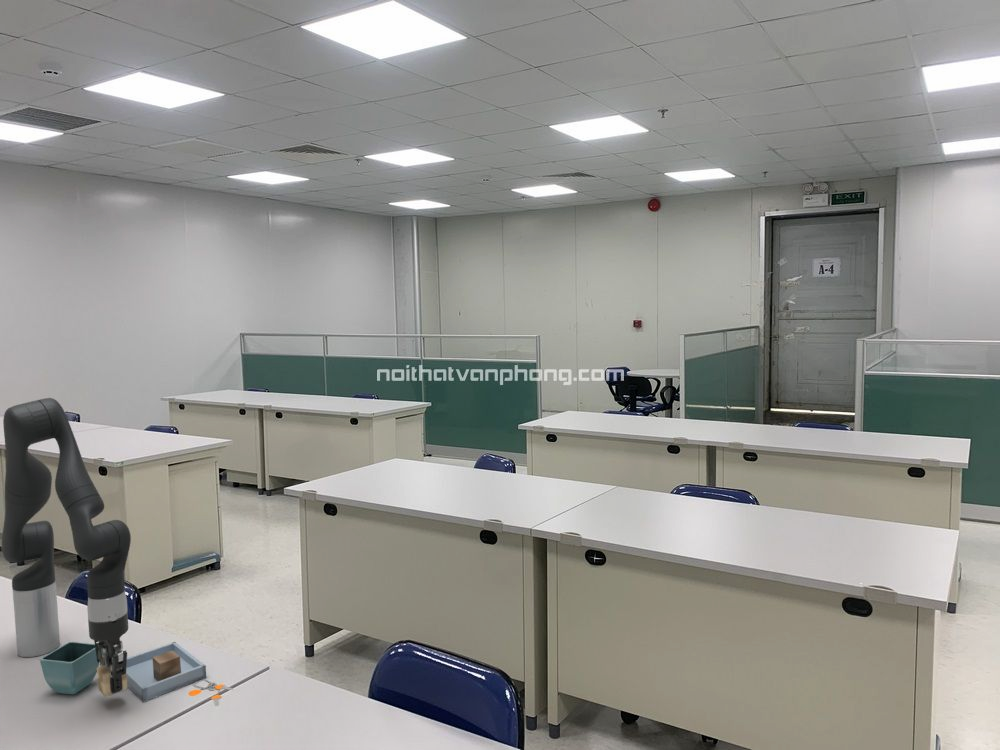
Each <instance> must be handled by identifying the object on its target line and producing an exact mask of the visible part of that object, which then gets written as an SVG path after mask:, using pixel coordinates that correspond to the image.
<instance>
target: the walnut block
mask: <svg viewBox="0 0 1000 750" xmlns="http://www.w3.org/2000/svg"><path fill="white" fill-rule="evenodd" d="M153 673H154V679H156V680H157V681H161V680H164V679H166V678H169V677H172V676H174V675H177V674H180V673H181V664H180V656H179V655H178V654H176V653H175V652H174V651H169V652H166V653H163V654H161V655H158V656H155V657H153Z"/></svg>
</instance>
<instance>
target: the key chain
mask: <svg viewBox="0 0 1000 750" xmlns="http://www.w3.org/2000/svg"><path fill="white" fill-rule="evenodd" d="M203 681H204V682H207V683H209V684H207V685H206V686H205V687H204V686H198V685H197V684H199V683H201V682H203ZM192 687H194V688H199V690H196V689H193V690H191V691H189V692H188V696H198V695H200V694H201V693H202V690H205V689H206V690H208V691H211V692H213V691H218V693H217V694H216V695H213V696H212V697H211V700H212V701H213V704H214V705H213V706H214V707H218V706H219V705H220V704H219V703H220V702H219V700H220V699H222V695H221V694H220V693H221V691H220V690H228V691H233V690H234V688H233V687H230V686H227V685H225V684H217V683H216V682H212V681H210V680H208V679H206V678H204V679H201V680H199V681H196V682H194V684H193V683H192Z"/></svg>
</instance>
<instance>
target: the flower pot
mask: <svg viewBox="0 0 1000 750" xmlns="http://www.w3.org/2000/svg"><path fill="white" fill-rule="evenodd" d="M39 661H40V666H41V667H40V668H41V670H42V673H43V678H44V680H45V682H46V684H47V685H48V687H50V689H51V690H52V691H54V692H55V693H56V694H64V695H74V696H75V695H76V694H78V693H79V692H81V691H82V690H83V689H85V688H86V687H87V686H90V685H91V684H92V682H93V681H94V679H95V677H96V676H97V667H100V663H98V662H97V656H96V649H95V643H89V642H80V641H79V642H78V641H68V642H66V643H64V644H63V645H61V646H59V647H58V648H56V649H55V650H53V651H51V652H49V653H47V654H46V655H44V656H43V657H41V658H40V659H39Z"/></svg>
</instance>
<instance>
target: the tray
mask: <svg viewBox="0 0 1000 750" xmlns="http://www.w3.org/2000/svg"><path fill="white" fill-rule="evenodd" d="M169 651H174V652H175V653H176V654H178V655H179V656H180V664H181V673H180V674H177V675H174V676H172V677H169V678H166V679H164V680H161V681H157V680H156V679H154V673H153V657H155V656H158V655H161V654H163V653H166V652H169ZM206 667H207V666H206V664H205V663H204V662H202V661H200V659H198V658H197V657H195V656H194V655H193V654H192V653H190V652H189V651H187V649H185V648H183V647H182V645H180V644H179V643H177V642H176V641H173V642H170V643H167V644H163V645H160V646H158V647H156V648H151V649H150V650H147V651H144V652H140V653H138V654H134V655H131V656H130V657H129V656H128V657H127V664H126V674H127V685H128V686H129V687H130V688H131V689H132V690H133V691H134V692H135V693H136V694H137V695H138V696H137V695H136V694H135V693H134V692H133V691H132V690H131V689H130V688H129V687H128V686H127V687H128V688H129V689H130V690H131V691H132V692H133V693H134V694H135V695H136V696H137V697H138V698H139V699H140V700H141V702H143V703H145V702H147V701H150V700H153V699H155V698H157V697H156V696H158V697H160V696H163V695H165V693H166V694H168V693H170V692H173V691H176V690H178V689H181V688H183V687H185V686H188V685H191V684H193V683H194V684H195V683H196V682H198V681H201V680H203V679H206V678H207V668H206ZM162 694H163V695H162ZM154 697H155V698H154ZM152 698H153V699H152ZM149 699H150V700H149ZM144 701H145V702H144Z"/></svg>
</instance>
